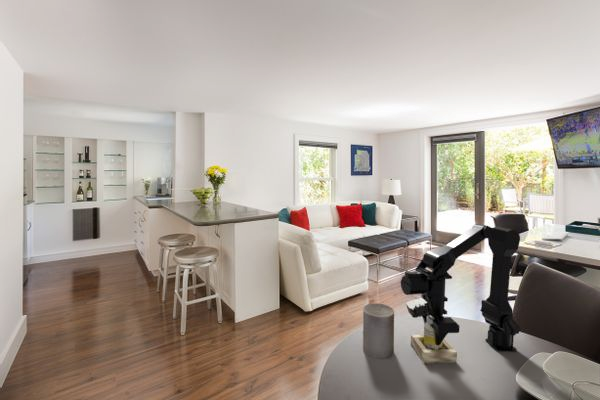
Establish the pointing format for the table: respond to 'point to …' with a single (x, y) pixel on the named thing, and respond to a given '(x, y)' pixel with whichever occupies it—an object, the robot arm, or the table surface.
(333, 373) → the table surface
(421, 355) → the square holder
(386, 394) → the table surface
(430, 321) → the supplement bottle
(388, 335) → the pillar candle
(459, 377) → the table surface
